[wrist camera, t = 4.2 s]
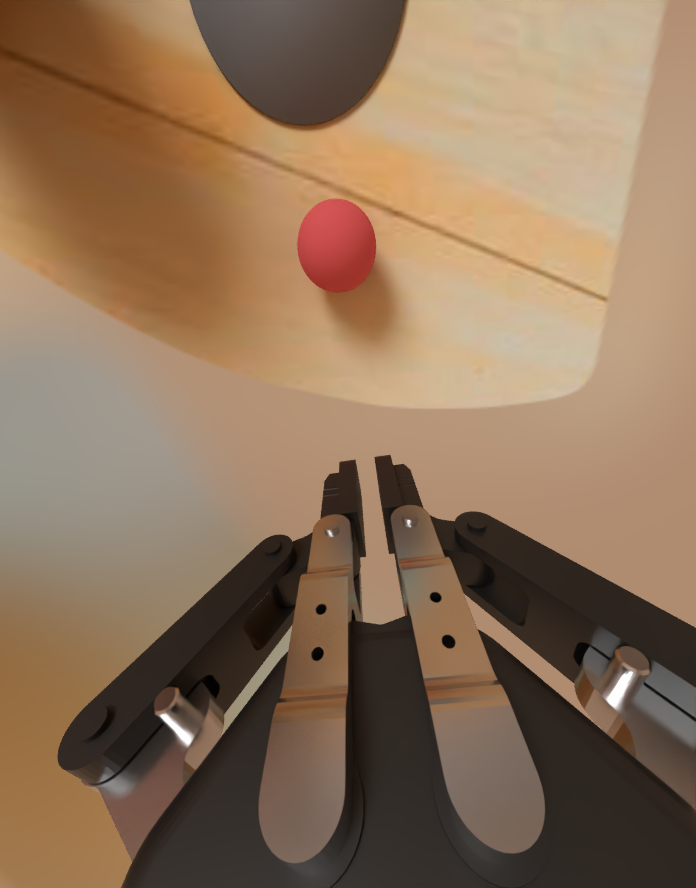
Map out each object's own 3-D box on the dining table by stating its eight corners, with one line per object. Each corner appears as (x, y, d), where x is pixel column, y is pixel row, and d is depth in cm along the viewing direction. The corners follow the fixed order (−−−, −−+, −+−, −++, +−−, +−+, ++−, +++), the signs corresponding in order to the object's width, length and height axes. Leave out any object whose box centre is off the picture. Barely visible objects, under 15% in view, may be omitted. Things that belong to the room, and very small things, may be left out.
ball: (368, 201, 22) (374, 179, 18) (376, 285, 25) (383, 286, 20) (295, 216, 23) (281, 198, 18) (311, 296, 26) (302, 300, 21)
